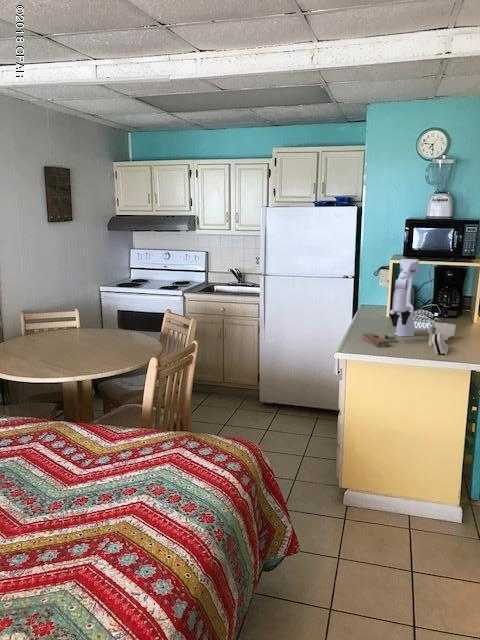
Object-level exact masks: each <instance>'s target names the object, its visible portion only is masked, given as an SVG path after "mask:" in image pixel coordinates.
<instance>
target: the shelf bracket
mask: <svg viewBox="0 0 480 640" xmlns="http://www.w3.org/2000/svg"><path fill="white" fill-rule="evenodd" d="M455 332H456V324H453V323H445V322H436V321H432V322H431V325H430V326H429V327H428V332H427V334H429V339H428V344H427V345H429V346H432V345H433V343H432V336H433V335H434V334H438V333H442V335H443V338H444V341H448V340H449V339H450V337H454V336H455Z"/></svg>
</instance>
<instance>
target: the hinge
mask: <svg viewBox="0 0 480 640" xmlns="http://www.w3.org/2000/svg"><path fill="white" fill-rule="evenodd" d="M445 341H446V340H444V338H443V335H442V333H438V334H434V335H433V336H432V343H433V344H432V345H433V349H434V353H435V355H436V354H438V355H439V354H440V355H441V354H444V355H447V356H448V353H447V352H449V344H447V343H446V342H445Z"/></svg>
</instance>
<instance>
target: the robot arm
mask: <svg viewBox="0 0 480 640" xmlns="http://www.w3.org/2000/svg"><path fill="white" fill-rule="evenodd" d="M419 266H420V261H419V259H418V258H417V259H416V258H414V259H413V258H401V259H400V262H399V269H400V273H399V274H398V278H397V279H395V284H394V288H395V291H394V292H395V300H394V301H395V303H394V307H393V309H391V310H389V315H388V316H389V318H390V320H391V323H392V327H395V328H396V329H395V332H392V334H393V335H395V336H398V337H402V338H403V337H414V336H415V325H416V324H415V321H414V311H415V308H414V305H413V304H412V303H410V300H411V296H412V295H411V294H412V287H413V280H414V277H415V276H418V273H419Z"/></svg>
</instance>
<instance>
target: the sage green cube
mask: <svg viewBox="0 0 480 640" xmlns="http://www.w3.org/2000/svg"><path fill="white" fill-rule="evenodd" d="M384 338H385V339H387V340H389V341H390V344H393V343H396V335H395V334H393V333H385V334H384Z"/></svg>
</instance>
